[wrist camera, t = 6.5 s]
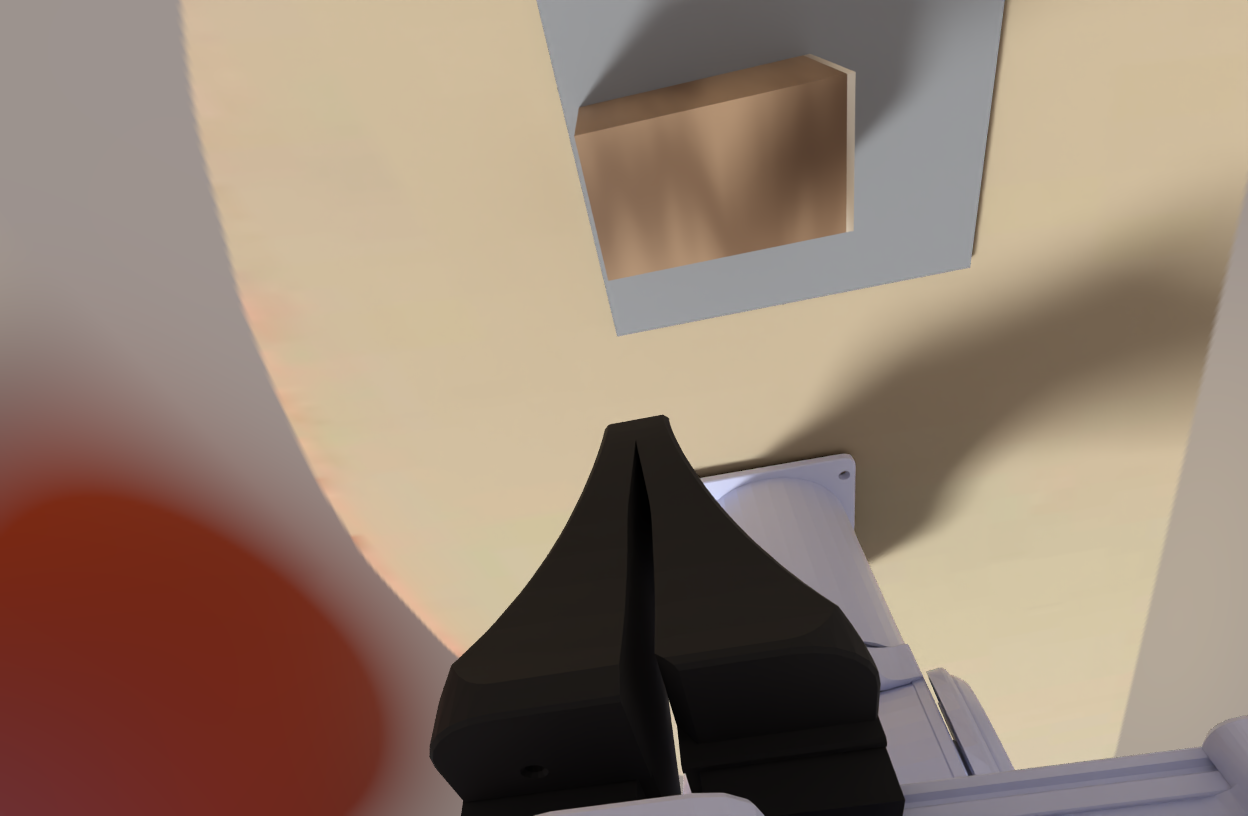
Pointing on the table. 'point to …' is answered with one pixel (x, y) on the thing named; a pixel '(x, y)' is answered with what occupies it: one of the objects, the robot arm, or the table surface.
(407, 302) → the table surface
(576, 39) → the mat
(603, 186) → the walnut block
